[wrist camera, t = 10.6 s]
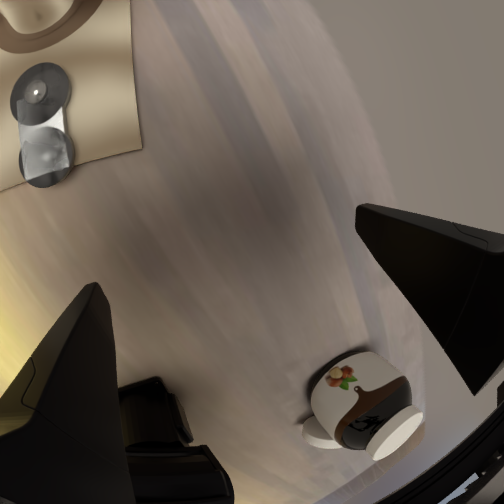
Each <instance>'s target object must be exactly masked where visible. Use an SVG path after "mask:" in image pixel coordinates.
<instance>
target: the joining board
mask: <svg viewBox="0 0 504 504" xmlns="http://www.w3.org/2000/svg"><path fill="white" fill-rule="evenodd" d="M44 62H50V63H55V64H57V65H59V66H60V67H61V68H62V69H63V70H64V71H65V73H66V74H67V75H68V77H69V79H70V81H71V86H72V93H71V99H70V102H69V104H68V106H67V108H66V116H67V125H68V134H69V136H70V137H71V139H72V140H73V143H74V146H75V161H74V165H73V166H75V165H79V164H82V163H86V162H89V161H93V160H97V159H101V158H104V157H108V156H112V155H117V154H121V153H125V152H129V151H134V150H138V149H142V144H141V137H140V130H139V122H138V114H137V105H136V96H135V86H134V75H133V62H132V46H131V24H130V0H83V1H82V3H81V5H80V7H79V8H78V9H77V11H76V12H75V13H74V14H73V16H72V17H71V18H70V19H69V20H68V21H66V22H65V23H64V24H63V25H62V26H60V27H59V28H57V29H56V30H54V31H52V32H51V33H49V34H47V35H44V36H42V37H39V38H35V39H30V40H21V39H17V38H14V37H13V36H11V35H10V34H9V33H8V32H7V30H6V28H5V26H4V24H3V21H2V18H1V15H0V191H2V190H5V189H7V188H10V187H13V186H15V185H18V184H21V183H23V182H26V180H25V179H24V178H23V176H22V174H21V172H20V169H19V153H20V149H21V147H20V139H19V129H18V121H17V120H16V119H15V118H14V117H13V115H12V112H11V109H10V96H11V92H12V89H13V87H14V85H15V83H16V81H17V80H18V78H19V77H20V76H21V75H22V74H23V73H24V72H25V71H26V70H27V69H29V68H30V67H32V66H34V65H36V64H39V63H44Z"/></svg>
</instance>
